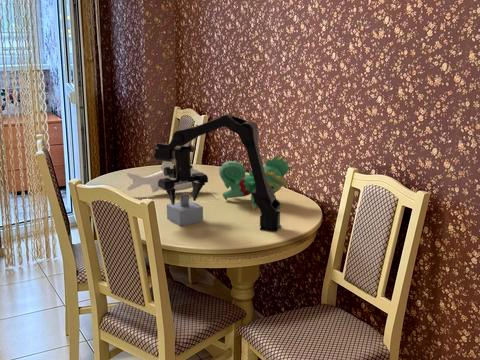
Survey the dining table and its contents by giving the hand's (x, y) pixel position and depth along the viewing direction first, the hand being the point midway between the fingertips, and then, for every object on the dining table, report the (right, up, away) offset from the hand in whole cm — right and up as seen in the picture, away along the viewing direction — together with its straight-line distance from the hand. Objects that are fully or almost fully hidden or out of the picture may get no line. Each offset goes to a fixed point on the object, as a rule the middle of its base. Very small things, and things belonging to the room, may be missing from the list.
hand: (183, 202), depth 224 cm
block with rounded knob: (0, -7, +1) cm, 7 cm away
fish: (-10, +2, +35) cm, 37 cm away
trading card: (+5, +1, +33) cm, 33 cm away
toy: (+27, -1, +22) cm, 35 cm away
